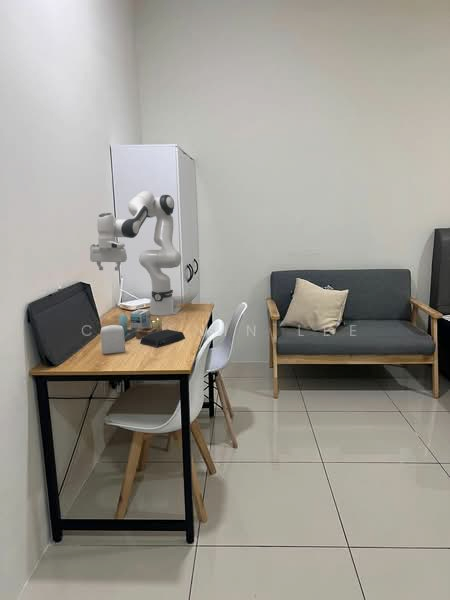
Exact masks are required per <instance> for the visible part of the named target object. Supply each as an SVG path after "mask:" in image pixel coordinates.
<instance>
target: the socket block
mask: <svg viewBox="0 0 450 600" xmlns="http://www.w3.org/2000/svg"><path fill="white" fill-rule="evenodd" d="M153 332H157V328H152V327H151V328H149V327H142V328H140V329H138V330H137V331H136V336H135V339H136V340H141V339H142V337H143V336H145V335H148V334H150V333H153Z"/></svg>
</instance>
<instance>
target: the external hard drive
mask: <svg viewBox="0 0 450 600" xmlns="http://www.w3.org/2000/svg"><path fill="white" fill-rule="evenodd" d="M182 339H183V340H184V339H186V337H185V334H184V332H183V331H178V330H172V329H169V328H168V329H167V328H166V329H162V330H161V331H157V332H153V333H150V334H148V335H145V336H143V337H142V339H140V342H139V344H140V345H143V346H147V347H151V348H155V349H156V348H157V349H158V348H162V347H165V346H169V345H171V343H172V344H174V342H175V343H177V342H180V341H183V340H182Z"/></svg>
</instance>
